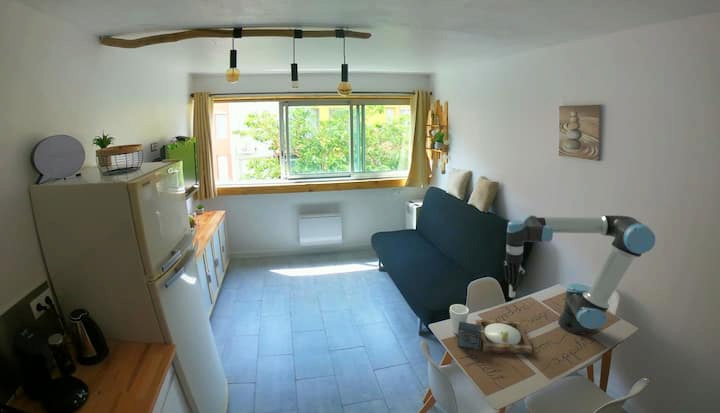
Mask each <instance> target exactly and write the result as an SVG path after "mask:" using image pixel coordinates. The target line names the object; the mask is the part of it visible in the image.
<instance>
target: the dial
mask: <svg viewBox="0 0 720 413" xmlns="http://www.w3.org/2000/svg"><path fill="white" fill-rule="evenodd" d="M484 334H485V337H486V339H487V340H488V341H489V342H491V343H492V344H509V345H518V344H519V343H520V340H521V335H520V333H519V332H518V330H516V329H515V328H513V327H511V326H509V325H506V324H501V323H494V324H490V325H488V326H486V328H485V332H484Z"/></svg>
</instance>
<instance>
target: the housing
mask: <svg viewBox="0 0 720 413" xmlns="http://www.w3.org/2000/svg"><path fill="white" fill-rule="evenodd" d="M494 323H501V324H506V325H509V326H511V327H513V328H515V329H516V330H518V332H519V333H520V335H521V340H520V343H519V344H518V345H509V344H492V343H491V342H489V341H488V340H487V339H486V337H485V334H484V332H485V328H486V326H488V325H490V324H494ZM475 324H477V325H481V339H480V346H481V345H482V346H481V349H482V351H483V353H490V352H491V353H494V354H495V353H496V354H509V355H510V354H511V355H525V356H526V355H527V356H532V354H533V346H532V345H531V343H530V340H529V339H528V337H527V335H526V332H525V330H524V328H523V326H522V324H521V322H520V321H514V320H513V321H512V320H496V319H493V320H491V319H475Z"/></svg>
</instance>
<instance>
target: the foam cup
mask: <svg viewBox="0 0 720 413" xmlns="http://www.w3.org/2000/svg"><path fill="white" fill-rule="evenodd" d="M469 311H470V310H469V308H468V306H466V305H464V304H460V303H458V304H457V303H456V304H455V303H454V304H452V305H450V307H449V316H450V323H451V324H450V327H451V332H452V333H453V334H455V335H458V331H459V330H458V328H459V322H464V323H468V322H467V321H468V317H469Z"/></svg>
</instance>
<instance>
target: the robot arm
mask: <svg viewBox="0 0 720 413" xmlns="http://www.w3.org/2000/svg"><path fill="white" fill-rule="evenodd" d="M555 233H556V234H557V233H559V234H561V233H562V234H600V235H601V236H605V237H606V236H609V237H612V238H614V239H613V240H612V243H611V247H612V250H611V252H610V254H609V256H608V257H607V259H606V261H605V262H604V264H603V266H602V267H601V268H600V271H599V273H597V276H596V278H595V279H594V281H593V282H592V284H591V286H589V285H586V284H581V283H570V284H568V285H567V286H566V290H565V298H564V306H563V310H562V312H561V314H560V315H559V317H558V320H557V321H558V322H557V323H558V325H559V327H560V328H562V330H564V331H567V332H568V333H573V334H575V333H578V334H577V335H583V334H582V333H587V332H589V331H590V332H591V331H592V330H596V329H600V328H601V327H604V325H605V324H606V323H607V319H608V317H607V314H606V312H608V310H609V307H610V304H609V303H608V302H609V300H610V299H611V297H612V296H613V293H614V292H615V291H616V289H617V287H618V286H619V284H620V282H621V280H622V279H623V277H624V276H625V274H626V273H627V271H628V270H629V268H630V267H631V264H632V263H633V261H634V259H637V258H641V256H642V255H643V254H645V253H646V252H647V253H648V252H649V251H652V249H653V248H654V246H655V244H656V236H655V233H654V231H653V230H652V229H651V228H650V227H648V225H645V224H643V223H642V222H641V221H639V220H638V219H636V218H634V217H631V216H627V215H601V216H599V217H537V216H535V215H533V214H532V215H531V214H529V215H526V216H525V217H524V218H523V220H517V219H515V220H510V221H509V222H507V228H506V247H505V248H506V249H505V251H506V252H505V260H504V261H502V267H503V272H504V280H505V282H507V284H508V297H509V298H510V299H511V298H514V297H516V292H517V288H518V286H521V285H522V281H523V278H524V275H525V273H526V272H527V270H526V269H525V268H523V265H522V262H523V260H524V259H523V258H524V242H527V243H528V242H531V243H549V242H552V240H553V238H554V237H553V236H554V234H555ZM590 332H589V333H590ZM580 333H581V334H580ZM587 334H588V333H587Z"/></svg>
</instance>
